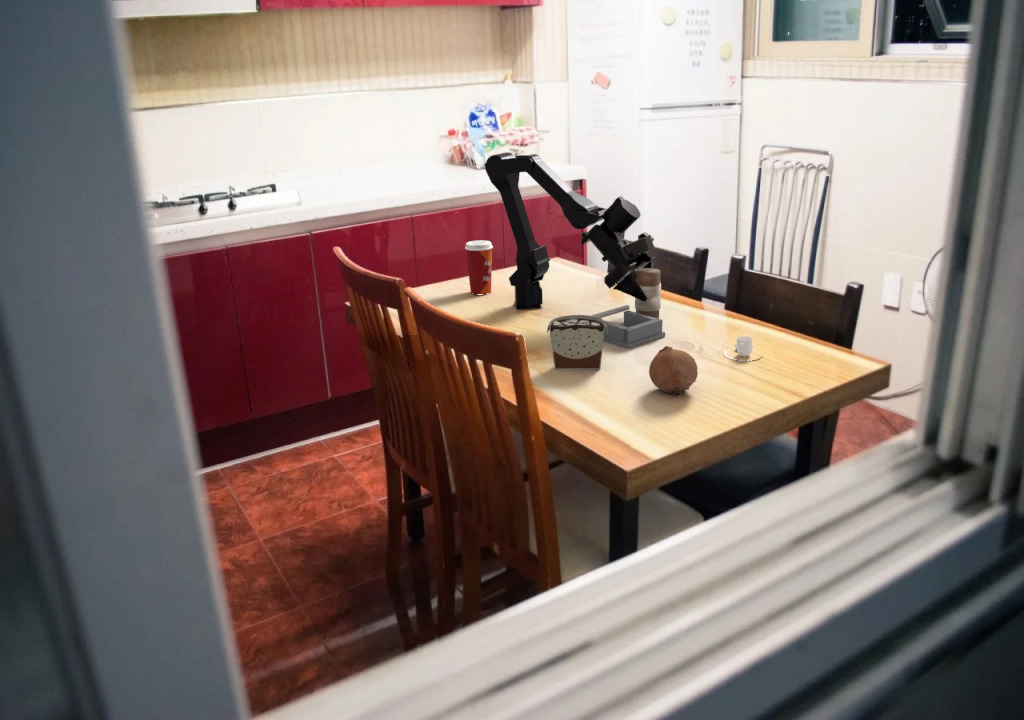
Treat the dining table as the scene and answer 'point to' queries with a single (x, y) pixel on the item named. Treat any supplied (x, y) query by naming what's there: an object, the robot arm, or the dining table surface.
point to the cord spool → (649, 292)
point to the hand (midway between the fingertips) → (653, 295)
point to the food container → (577, 341)
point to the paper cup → (479, 266)
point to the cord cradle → (631, 328)
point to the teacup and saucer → (742, 347)
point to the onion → (673, 370)
